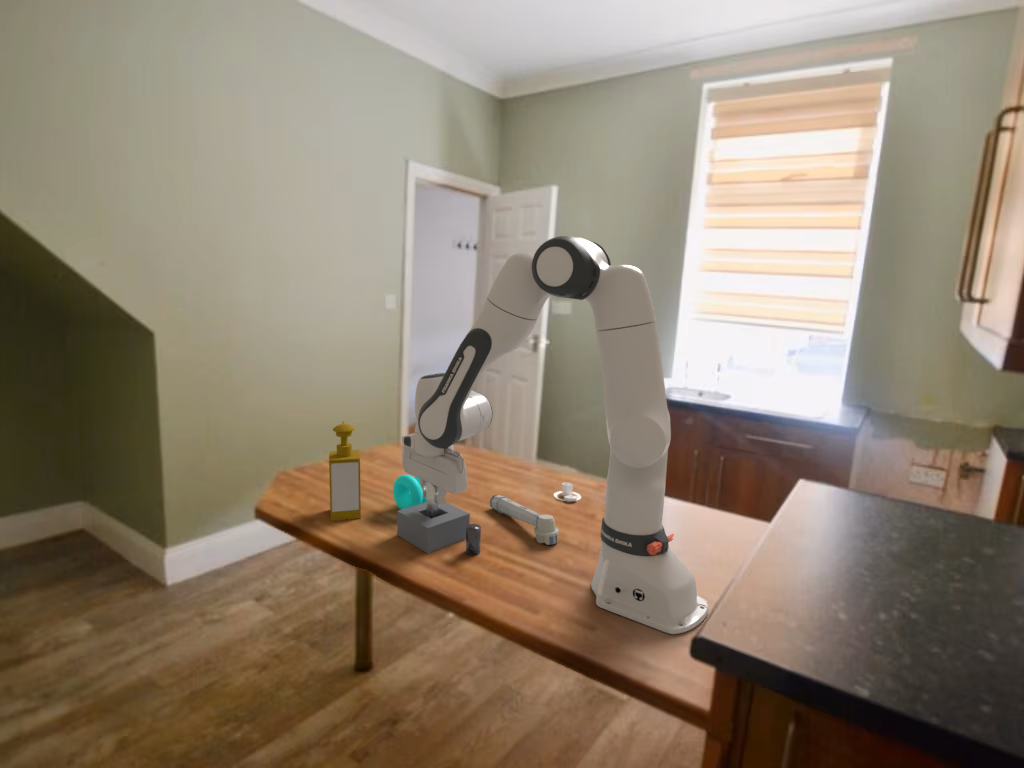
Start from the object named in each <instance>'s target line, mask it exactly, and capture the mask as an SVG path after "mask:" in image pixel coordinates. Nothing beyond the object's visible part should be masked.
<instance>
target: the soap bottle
mask: <svg viewBox="0 0 1024 768" xmlns="http://www.w3.org/2000/svg"><path fill="white" fill-rule="evenodd" d="M355 430H356V427H354V426H353V425H351V424H348V423H345V421H344V420H342V423H341V424H338V425H336V426H334V427H333V428H332V431H333V432H334V433H335V436H336V437H337V438H340V443H338V444H336V451H334V450H332V451H329V454H328V459H329V460H328V465H329V471H328V473H329V506H330V507H329V508H330V509H329V512H330V515H329V516H330V522H335V521H334V520H337V521H346V520H345V519H348V520H357V519H358V518H360V519H361V518H362V516H361V515H362V513H361V456H360V451H359V449H355V450H354V449H353V448H352V447H353V446H352V444H351V443H349V442H348V437H352V436H353V432H354V431H355ZM352 449H353V450H352Z"/></svg>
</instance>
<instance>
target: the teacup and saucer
mask: <svg viewBox="0 0 1024 768" xmlns="http://www.w3.org/2000/svg"><path fill="white" fill-rule="evenodd" d="M573 487H574V484H573V483H572V482H568V481H567V482H562V483H561V490H559V491H556V492H554V493H553V497H554V499H556V500H559V501H562V502H567V503H568V502H577V501H580V500H581V499H582V496H581V495H580V494H579V493H578V492H575V491H573V490H574V488H573ZM560 494H562V497H563V498H560V497H558V495H560Z"/></svg>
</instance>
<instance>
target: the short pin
mask: <svg viewBox="0 0 1024 768" xmlns="http://www.w3.org/2000/svg"><path fill="white" fill-rule="evenodd" d="M481 527H482V526H481V525H480V524H477V523H469V525H467V526H466V539H465V554H466V555H468V556H473V557H474V556H478V555H480V553H481V537H482V535H481V531H482V529H481Z"/></svg>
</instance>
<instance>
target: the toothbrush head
mask: <svg viewBox="0 0 1024 768" xmlns="http://www.w3.org/2000/svg"><path fill="white" fill-rule="evenodd" d="M489 506H490V507H491V509H493V510H495V511H496V512H498V513H499V514H504V515H506V516H509V517H511V518H514V519H516V520H518V521H521V522H522V523H523V522H524V523H526V524H529V525H531V526H534V528H533V532H534V534H535V540H536V542H537V543H538V544H539V545H541V544H546V545H547V546H548V545H555V544H557V543H558V541H559V540H558V539H559V537H558V536H559V534H560V530H559V528H558V527H556V520H555V518H554V516H553V515H551V514H540V513H539V512H536V511H535V510H532V509H530V508H528V507H526V506H525V505H522V504H520V503H518V502H516V501H514V500H512V499H510V498H509V497H508V496H506V495H503V496H502V495H501V494H497V495H496V494H495V495H493V496H492V497H491V498H490V500H489Z"/></svg>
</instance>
